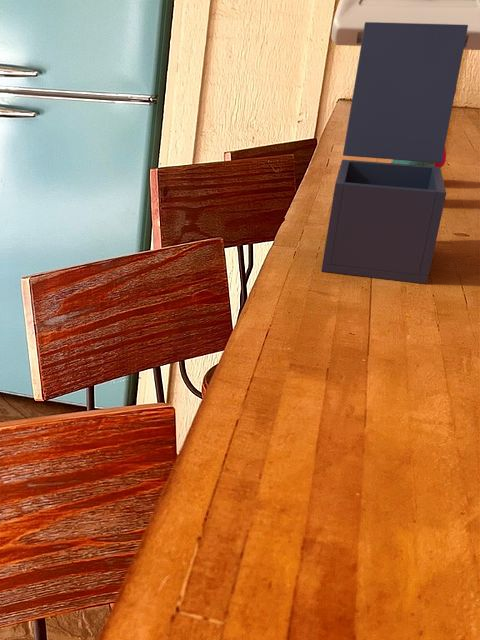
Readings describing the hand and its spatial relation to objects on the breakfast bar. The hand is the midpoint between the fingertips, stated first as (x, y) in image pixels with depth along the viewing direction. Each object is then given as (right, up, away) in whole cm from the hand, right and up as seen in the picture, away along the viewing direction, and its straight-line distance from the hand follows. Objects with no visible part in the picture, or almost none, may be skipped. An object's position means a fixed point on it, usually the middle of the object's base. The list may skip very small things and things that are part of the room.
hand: (406, 68), depth 115 cm
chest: (-5, -25, -1) cm, 26 cm away
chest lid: (-1, -4, -1) cm, 4 cm away
